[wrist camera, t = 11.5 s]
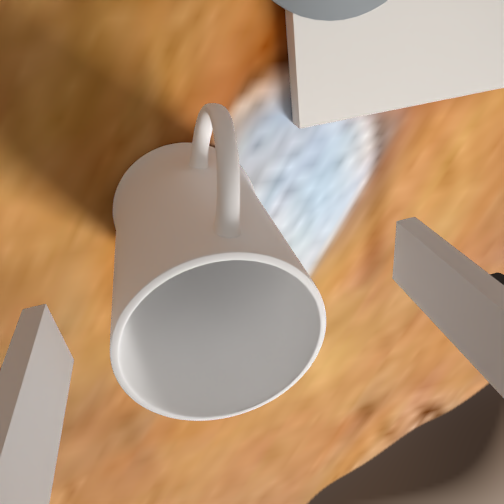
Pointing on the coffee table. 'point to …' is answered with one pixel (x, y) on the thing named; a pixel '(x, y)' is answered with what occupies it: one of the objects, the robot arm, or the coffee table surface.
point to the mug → (206, 284)
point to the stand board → (389, 54)
